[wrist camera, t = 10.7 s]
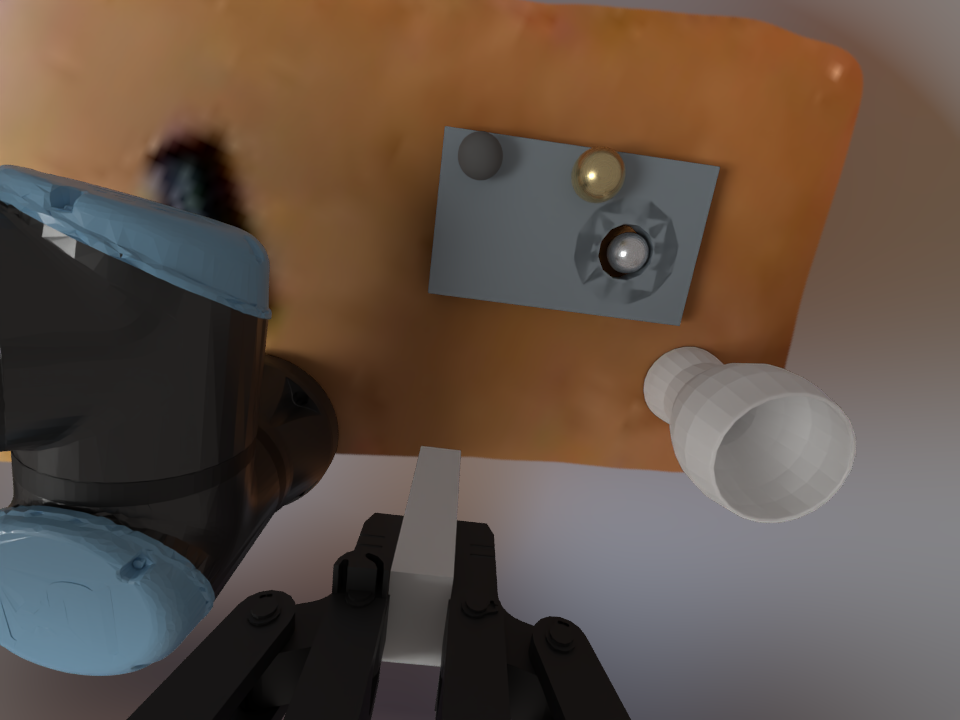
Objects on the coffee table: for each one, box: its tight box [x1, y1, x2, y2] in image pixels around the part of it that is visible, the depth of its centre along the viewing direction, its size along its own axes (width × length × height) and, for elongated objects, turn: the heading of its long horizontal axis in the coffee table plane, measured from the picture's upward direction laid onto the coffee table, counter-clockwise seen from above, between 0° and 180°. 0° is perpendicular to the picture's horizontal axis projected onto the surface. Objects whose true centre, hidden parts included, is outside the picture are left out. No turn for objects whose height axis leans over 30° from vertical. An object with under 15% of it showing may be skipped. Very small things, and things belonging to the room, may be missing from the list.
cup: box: [644, 347, 856, 523], centre depth 37 cm, size 11×11×15 cm
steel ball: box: [607, 232, 649, 273], centre depth 39 cm, size 3×3×3 cm
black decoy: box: [458, 131, 503, 180], centre depth 35 cm, size 3×3×3 cm
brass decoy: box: [571, 147, 626, 203], centre depth 35 cm, size 4×4×4 cm
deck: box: [428, 126, 720, 326], centre depth 39 cm, size 22×13×2 cm, turn 82°
